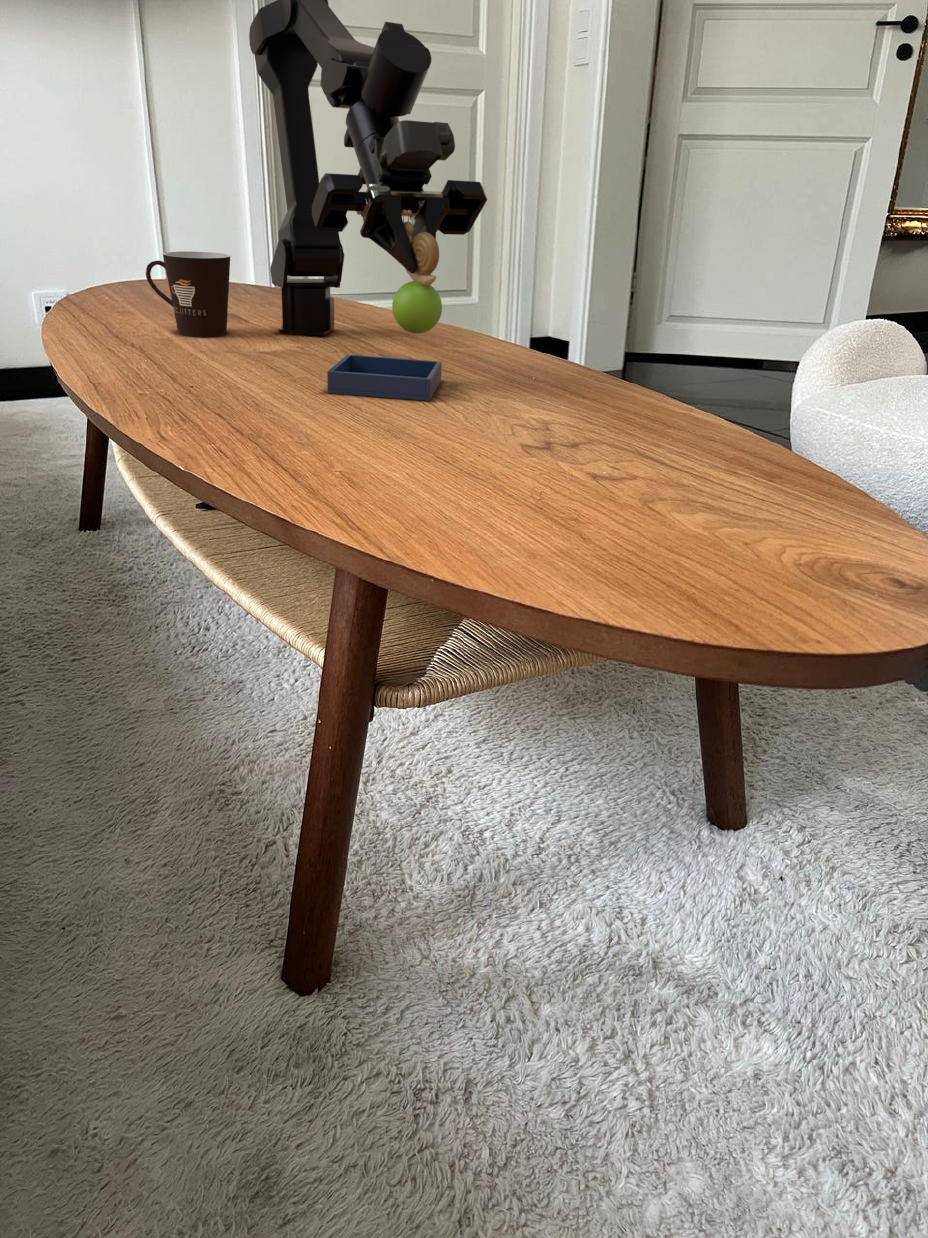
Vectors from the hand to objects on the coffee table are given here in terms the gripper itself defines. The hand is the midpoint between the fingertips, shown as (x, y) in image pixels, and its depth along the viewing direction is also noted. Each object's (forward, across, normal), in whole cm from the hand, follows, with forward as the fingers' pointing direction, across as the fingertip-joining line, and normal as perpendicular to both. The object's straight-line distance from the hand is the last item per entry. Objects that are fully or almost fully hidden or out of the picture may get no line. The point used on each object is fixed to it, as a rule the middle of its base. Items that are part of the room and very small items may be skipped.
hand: (423, 270), depth 96 cm
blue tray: (+8, -4, +9) cm, 13 cm away
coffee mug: (-18, -15, +37) cm, 44 cm away
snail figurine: (+4, 0, +6) cm, 7 cm away
